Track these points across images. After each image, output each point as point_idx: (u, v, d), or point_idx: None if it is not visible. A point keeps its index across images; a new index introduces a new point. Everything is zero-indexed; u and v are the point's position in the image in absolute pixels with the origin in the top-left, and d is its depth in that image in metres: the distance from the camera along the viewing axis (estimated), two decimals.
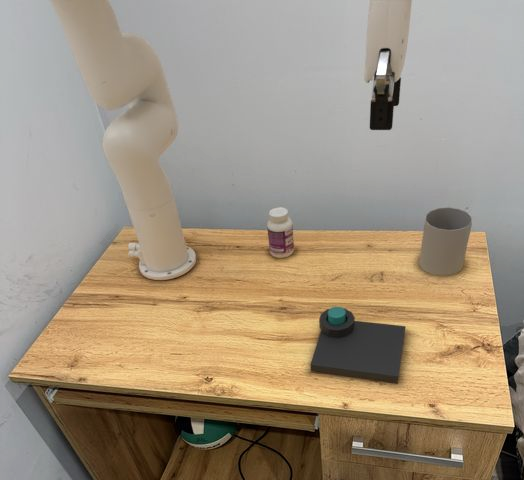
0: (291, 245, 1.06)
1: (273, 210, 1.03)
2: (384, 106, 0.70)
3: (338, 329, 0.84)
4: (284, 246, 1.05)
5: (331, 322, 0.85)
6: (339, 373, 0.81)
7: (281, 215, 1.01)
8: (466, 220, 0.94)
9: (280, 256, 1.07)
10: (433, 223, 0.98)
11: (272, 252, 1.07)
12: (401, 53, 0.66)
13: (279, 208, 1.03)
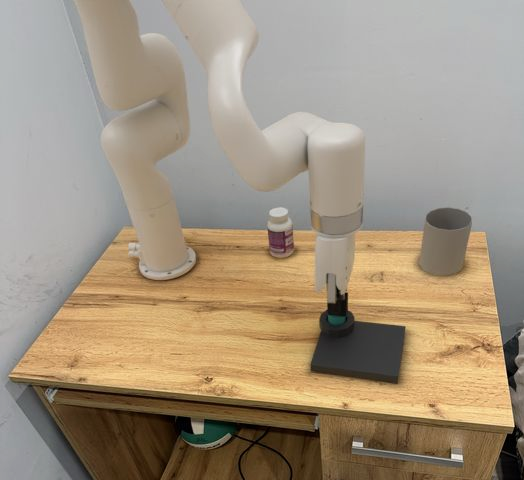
0: (291, 245, 1.06)
1: (273, 210, 1.03)
2: (338, 302, 0.81)
3: (338, 329, 0.84)
4: (284, 246, 1.05)
5: (331, 323, 0.85)
6: (339, 373, 0.81)
7: (281, 215, 1.01)
8: (466, 220, 0.94)
9: (280, 256, 1.07)
10: (433, 223, 0.98)
11: (272, 252, 1.07)
12: (345, 276, 0.74)
13: (279, 208, 1.03)
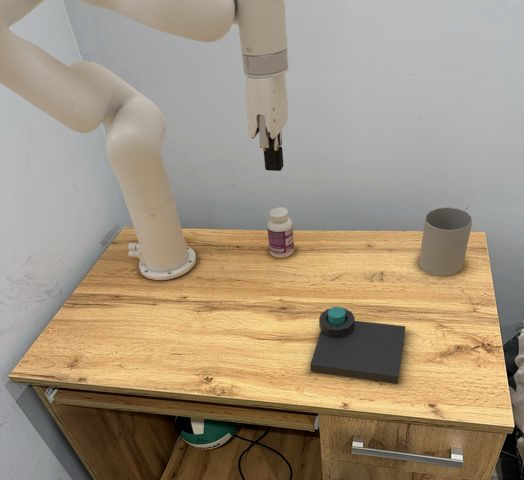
0: (291, 245, 1.06)
1: (273, 210, 1.03)
2: (272, 154, 0.92)
3: (338, 329, 0.84)
4: (284, 246, 1.05)
5: (331, 322, 0.85)
6: (339, 373, 0.81)
7: (281, 215, 1.01)
8: (466, 220, 0.94)
9: (280, 256, 1.07)
10: (433, 223, 0.98)
11: (272, 252, 1.07)
12: (273, 118, 0.85)
13: (279, 208, 1.03)
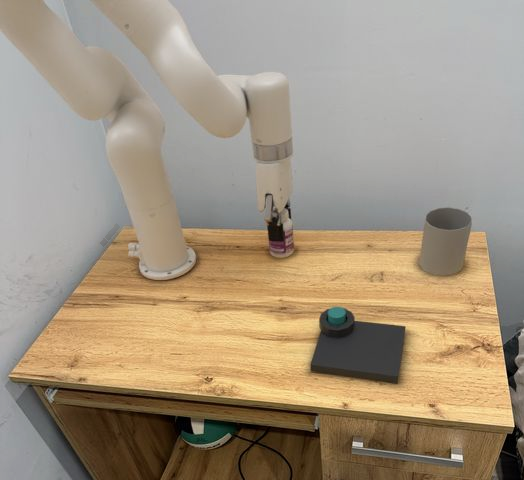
0: (291, 245, 1.06)
1: None
2: (275, 228, 1.01)
3: (338, 329, 0.84)
4: (284, 246, 1.05)
5: (331, 322, 0.85)
6: (339, 373, 0.81)
7: (281, 215, 1.01)
8: (466, 220, 0.94)
9: (280, 256, 1.07)
10: (433, 223, 0.98)
11: (272, 252, 1.07)
12: (280, 196, 0.95)
13: None
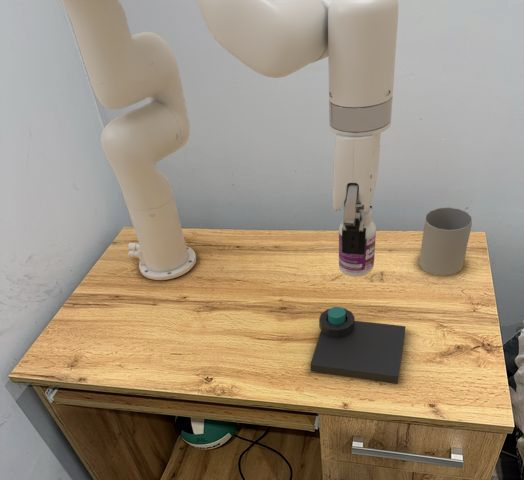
0: (372, 259, 0.74)
1: None
2: (356, 235, 0.68)
3: (338, 329, 0.84)
4: (363, 261, 0.73)
5: (331, 322, 0.85)
6: (339, 373, 0.81)
7: None
8: (466, 220, 0.94)
9: (356, 274, 0.75)
10: (433, 223, 0.98)
11: (344, 269, 0.75)
12: (370, 187, 0.63)
13: (358, 205, 0.71)
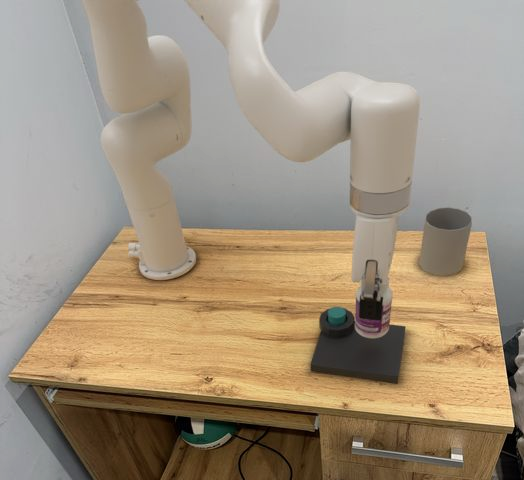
0: (388, 322, 0.76)
1: None
2: (373, 304, 0.70)
3: (338, 329, 0.84)
4: (379, 325, 0.75)
5: (331, 322, 0.85)
6: (339, 373, 0.81)
7: None
8: (466, 220, 0.94)
9: (372, 337, 0.76)
10: (433, 223, 0.98)
11: (360, 331, 0.77)
12: (388, 263, 0.65)
13: None
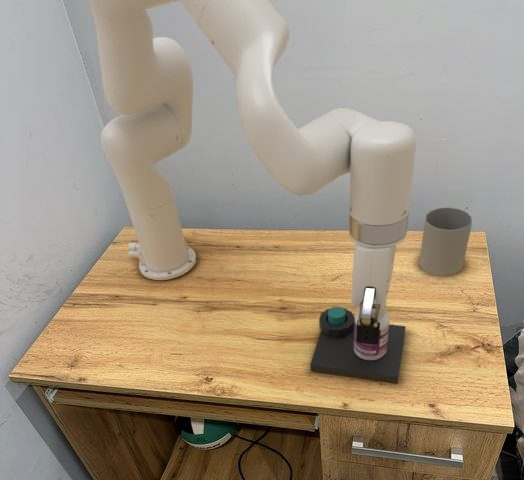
0: (385, 345, 0.79)
1: None
2: (370, 329, 0.71)
3: (338, 329, 0.84)
4: (377, 348, 0.78)
5: (331, 322, 0.85)
6: (339, 373, 0.81)
7: None
8: (466, 220, 0.94)
9: (370, 359, 0.80)
10: (433, 223, 0.98)
11: (359, 353, 0.80)
12: (386, 289, 0.68)
13: None
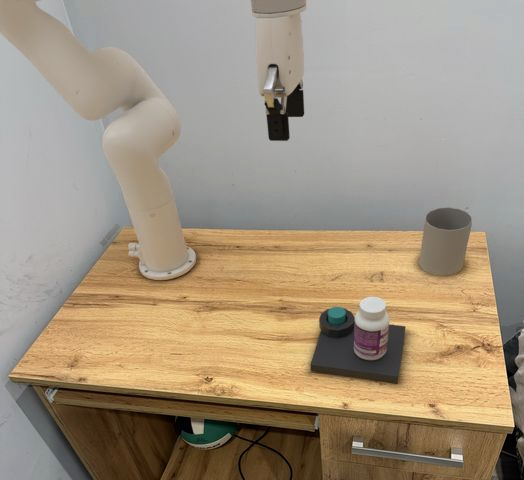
0: (385, 345, 0.79)
1: (365, 301, 0.76)
2: (278, 118, 0.73)
3: (338, 329, 0.84)
4: (377, 348, 0.78)
5: (331, 322, 0.85)
6: (339, 373, 0.81)
7: (378, 310, 0.74)
8: (466, 220, 0.94)
9: (370, 359, 0.80)
10: (433, 223, 0.98)
11: (359, 353, 0.80)
12: (289, 69, 0.70)
13: (372, 298, 0.77)
